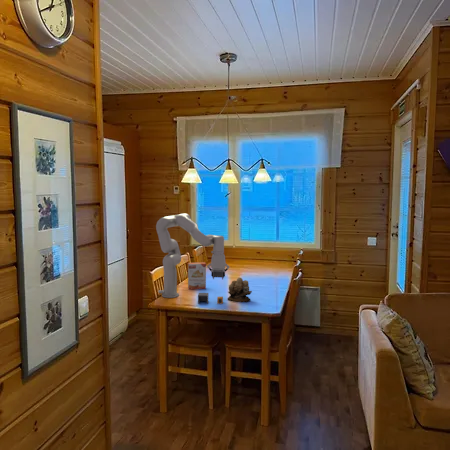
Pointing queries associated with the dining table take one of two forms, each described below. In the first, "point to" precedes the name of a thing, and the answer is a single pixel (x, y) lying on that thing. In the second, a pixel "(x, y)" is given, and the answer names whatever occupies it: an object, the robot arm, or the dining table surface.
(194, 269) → the cracker box
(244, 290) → the brown stone statue
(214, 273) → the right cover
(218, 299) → the letter cube
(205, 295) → the left cover
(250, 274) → the dining table surface
